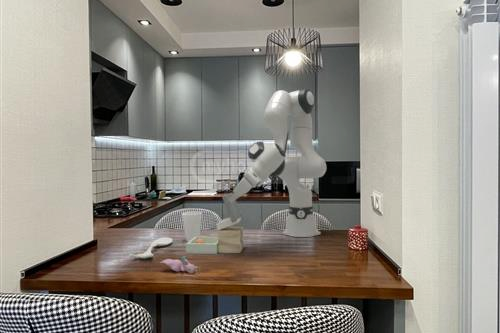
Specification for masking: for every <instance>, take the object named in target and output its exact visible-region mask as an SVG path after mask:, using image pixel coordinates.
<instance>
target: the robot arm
mask: <svg viewBox="0 0 500 333" xmlns="http://www.w3.org/2000/svg"><path fill="white" fill-rule="evenodd" d="M314 105H315V95H314V93H313V92H312V91H311V90H310V89H308V88H302V89H300V90H294V91H290V92H288V91H286V90H284V89H283V90H282V89H281V90H277V91H274V93H273V94H272V96H271V98H270V99H269V101H268V103H267V105H266V106H265V107H266V108H265V109H264V110H265V111H264V112H263V119H264V123H265V125H266V126H267V128H268V130H269V131H270V133H271V134H272V137H273V139H274V143H272V144H268V143H266V142H264V141H257V142H254V143H253V144H252V145H251V146H250V147H249V148H248V152H247V153H248V158H249V160H250V161H251V162H253V163H252V164H251V165H250V166H249V167H248V168H247V169H246V170H245V171H244V174H243V177H242V178H241V180H240V181H239V182H237V185H236V186H235V187H234V188H233V190H232V193H233V195H232V196H231V198H230V199H229V202H230V203H232V202H233V201H234V200H236V201H237V200H238V199H239V198H240V197H242V196H243V195H244V196H245V194H246V193H248V192H249V191H251V189H252V188H254V189H255V188H256V187H258V188H259V187H261V186H262V185H263V184H264V183H265V182H266V181H267V180H268V178H269V177H270V178H275V177H279V179H281V180H282V181H283V182H284V184H285V185H286V187H287V190H288V195H289V206H288V216H287V217H286V218H285V223H286V224H285V227H286V228H285V230H283V231H282V235H284V236H290V237H294V238H296V237H297V238H311V237H314V236H319V235H320V236H321V235H322V234H321V231H319V230H318V228H317V226H318V225H317V217H315V215H314V206H313V192H312V190H311V189H310V187H308V186H306V185H304V184H302V183H301V181H300V179H317V178H322V177H323V176H324V175H325V173H326V172H327V164H326V163H327V162H326V161H325V159H324V158H322V157H321V156H320V155H319V154H318V153H317V152H316V150H315V147H314V142H313V120H312V118H313V117H312V115H311V113H312V111H313V108H314ZM289 116H291V118H292V120H291V125H290V139H289V127H288V118H289ZM288 140H290V141H289V145H290V146H291V148H292V149H294V150H295V151H297V152H299V153H301V155H300V156H287V155H286V152H287V146H288Z"/></svg>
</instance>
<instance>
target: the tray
mask: <svg viewBox="0 0 500 333" xmlns="http://www.w3.org/2000/svg"><path fill="white" fill-rule="evenodd" d="M198 239H203V240H204V242H205V244H203V243H195V242H196V240H198ZM185 254H187V255H188V254H197V255H199V254H200V255H201V254H204V255H217V254H218V236H200V237H194V238H193V239H192V240H190V241H187V242H186V243H185Z"/></svg>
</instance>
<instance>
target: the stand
mask: <svg viewBox="0 0 500 333" xmlns="http://www.w3.org/2000/svg"><path fill="white" fill-rule="evenodd" d="M217 237H218V253H220V254H221V253H222V254H241V253H242V251H243V249H244V226H228V227H226V228H223V229H220V230H217ZM218 253H217V254H218Z"/></svg>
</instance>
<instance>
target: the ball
mask: <svg viewBox="0 0 500 333" xmlns="http://www.w3.org/2000/svg"><path fill="white" fill-rule="evenodd" d="M195 243H203V244H205V242H204V240H203V239H198V240H196V242H195Z"/></svg>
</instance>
